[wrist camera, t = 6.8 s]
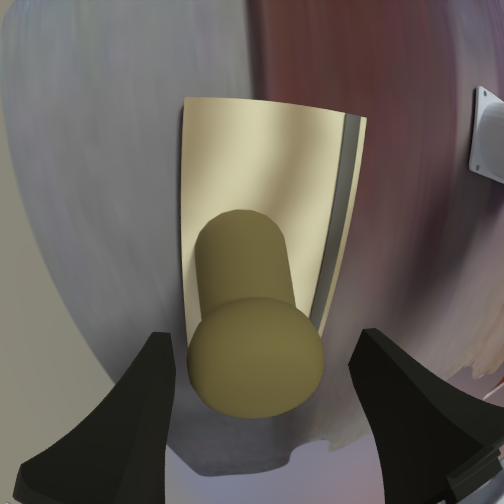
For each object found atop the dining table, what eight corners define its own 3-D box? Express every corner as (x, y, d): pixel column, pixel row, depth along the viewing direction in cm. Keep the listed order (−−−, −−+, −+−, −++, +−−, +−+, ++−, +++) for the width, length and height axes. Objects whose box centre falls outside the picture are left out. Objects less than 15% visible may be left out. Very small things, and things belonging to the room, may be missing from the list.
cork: (304, 238, 18) (380, 364, 9) (255, 304, 20) (279, 443, 11) (223, 191, 17) (225, 303, 7) (178, 268, 19) (148, 413, 9)
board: (359, 117, 16) (368, 118, 15) (313, 343, 24) (317, 353, 23) (186, 98, 15) (184, 97, 14) (189, 345, 23) (188, 355, 22)
